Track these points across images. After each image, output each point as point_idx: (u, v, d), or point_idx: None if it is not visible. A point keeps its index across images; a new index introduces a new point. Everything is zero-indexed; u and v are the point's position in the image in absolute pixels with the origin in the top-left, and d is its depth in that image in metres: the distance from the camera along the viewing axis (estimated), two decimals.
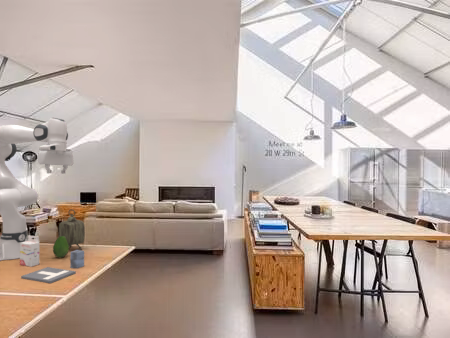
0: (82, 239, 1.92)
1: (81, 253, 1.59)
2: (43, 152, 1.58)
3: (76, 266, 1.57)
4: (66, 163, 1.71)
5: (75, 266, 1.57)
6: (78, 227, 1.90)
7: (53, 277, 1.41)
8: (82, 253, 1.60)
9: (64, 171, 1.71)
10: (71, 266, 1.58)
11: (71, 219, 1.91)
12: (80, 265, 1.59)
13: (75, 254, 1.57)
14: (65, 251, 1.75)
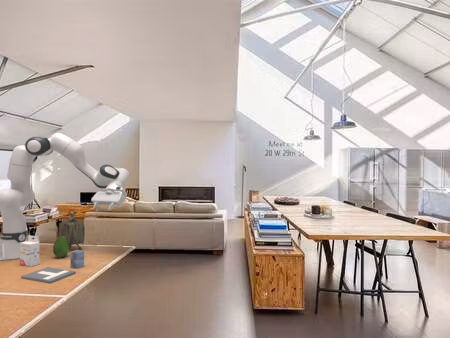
0: (82, 239, 1.92)
1: (81, 253, 1.59)
2: (124, 197, 1.80)
3: (76, 266, 1.57)
4: None
5: (75, 266, 1.57)
6: (78, 227, 1.90)
7: (53, 277, 1.41)
8: (82, 253, 1.60)
9: None
10: (71, 266, 1.58)
11: (71, 219, 1.91)
12: (80, 265, 1.59)
13: (75, 254, 1.57)
14: (65, 251, 1.75)
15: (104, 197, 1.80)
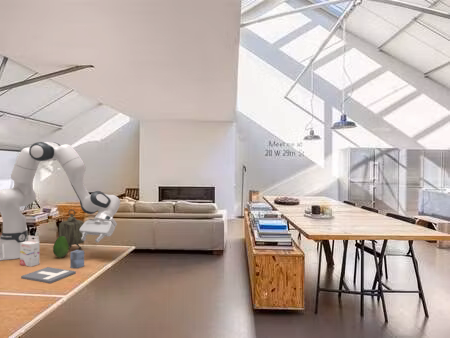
0: None
1: (81, 253, 1.59)
2: (114, 227, 1.72)
3: (76, 266, 1.57)
4: None
5: (75, 266, 1.57)
6: (78, 227, 1.90)
7: (53, 277, 1.41)
8: (82, 253, 1.60)
9: None
10: (71, 266, 1.58)
11: (71, 219, 1.91)
12: (80, 265, 1.59)
13: (75, 254, 1.57)
14: (65, 251, 1.75)
15: (93, 227, 1.71)
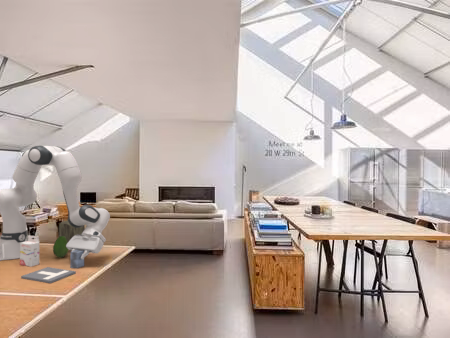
0: None
1: (81, 253, 1.59)
2: (102, 243, 1.64)
3: (76, 266, 1.57)
4: None
5: (75, 266, 1.57)
6: None
7: (53, 277, 1.41)
8: (82, 253, 1.60)
9: None
10: (71, 266, 1.58)
11: None
12: (80, 265, 1.59)
13: (75, 254, 1.57)
14: (65, 251, 1.75)
15: (80, 243, 1.63)
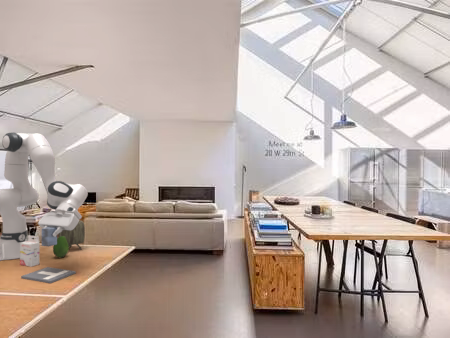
0: (82, 239, 1.92)
1: (53, 230, 1.46)
2: (77, 220, 1.50)
3: (47, 244, 1.43)
4: None
5: (46, 244, 1.44)
6: (78, 227, 1.90)
7: (53, 277, 1.41)
8: (55, 230, 1.46)
9: None
10: (42, 244, 1.44)
11: None
12: (52, 243, 1.45)
13: (46, 231, 1.44)
14: (65, 251, 1.75)
15: (53, 220, 1.49)
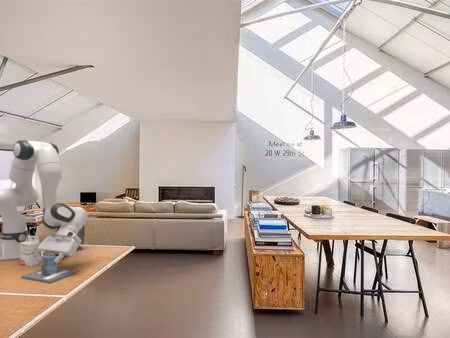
0: (82, 239, 1.92)
1: (53, 259, 1.46)
2: (77, 245, 1.50)
3: (47, 273, 1.43)
4: None
5: (46, 273, 1.44)
6: None
7: (53, 277, 1.41)
8: (54, 258, 1.46)
9: None
10: (42, 273, 1.44)
11: None
12: (52, 272, 1.45)
13: (46, 260, 1.44)
14: None
15: (53, 245, 1.49)
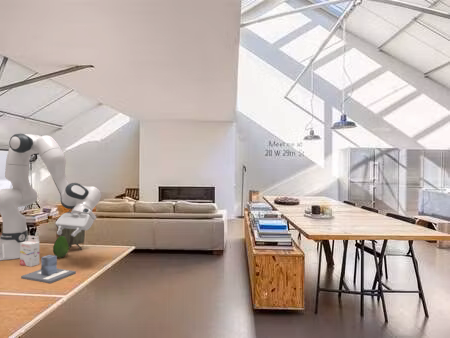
0: (82, 239, 1.92)
1: (53, 259, 1.46)
2: (92, 220, 1.60)
3: (47, 273, 1.43)
4: None
5: (46, 273, 1.44)
6: None
7: (53, 277, 1.41)
8: (54, 258, 1.46)
9: None
10: (42, 273, 1.44)
11: None
12: (52, 272, 1.45)
13: (46, 260, 1.44)
14: (65, 251, 1.75)
15: (70, 220, 1.59)
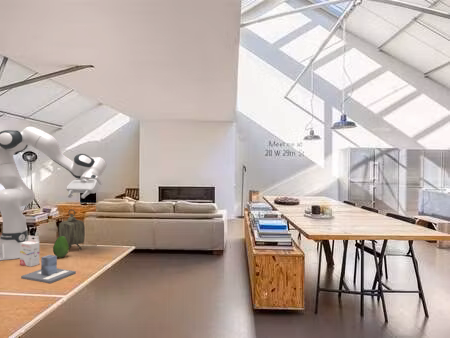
0: (82, 239, 1.92)
1: (53, 259, 1.46)
2: (99, 185, 1.79)
3: (47, 273, 1.43)
4: None
5: (46, 273, 1.44)
6: (78, 227, 1.90)
7: (53, 277, 1.41)
8: (54, 258, 1.46)
9: None
10: (42, 273, 1.44)
11: (71, 219, 1.91)
12: (52, 272, 1.45)
13: (46, 260, 1.44)
14: (65, 251, 1.75)
15: (79, 185, 1.79)
